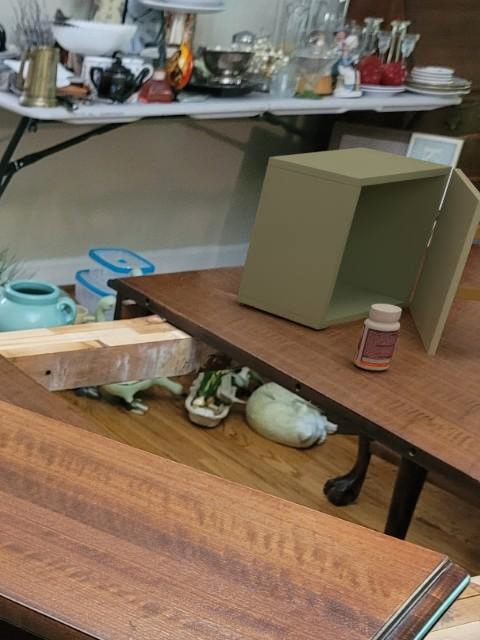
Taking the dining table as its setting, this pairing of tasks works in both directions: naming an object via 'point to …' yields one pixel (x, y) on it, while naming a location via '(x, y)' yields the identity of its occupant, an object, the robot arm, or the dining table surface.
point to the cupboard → (340, 234)
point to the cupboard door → (447, 260)
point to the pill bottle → (378, 337)
